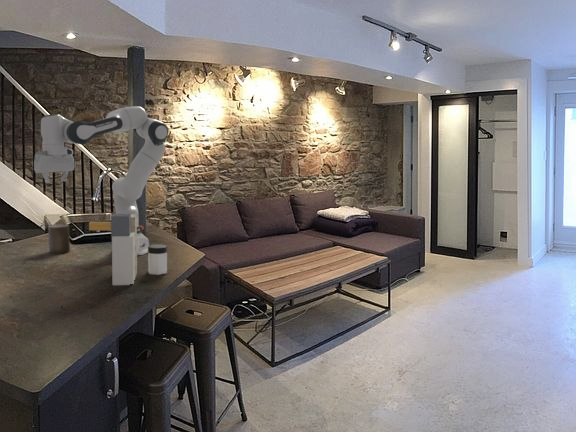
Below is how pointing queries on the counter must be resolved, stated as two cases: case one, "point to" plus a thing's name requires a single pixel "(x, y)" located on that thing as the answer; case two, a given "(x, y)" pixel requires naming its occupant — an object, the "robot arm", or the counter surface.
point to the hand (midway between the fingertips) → (56, 182)
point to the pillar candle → (59, 239)
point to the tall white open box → (123, 259)
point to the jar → (157, 259)
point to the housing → (114, 225)
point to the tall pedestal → (134, 229)
